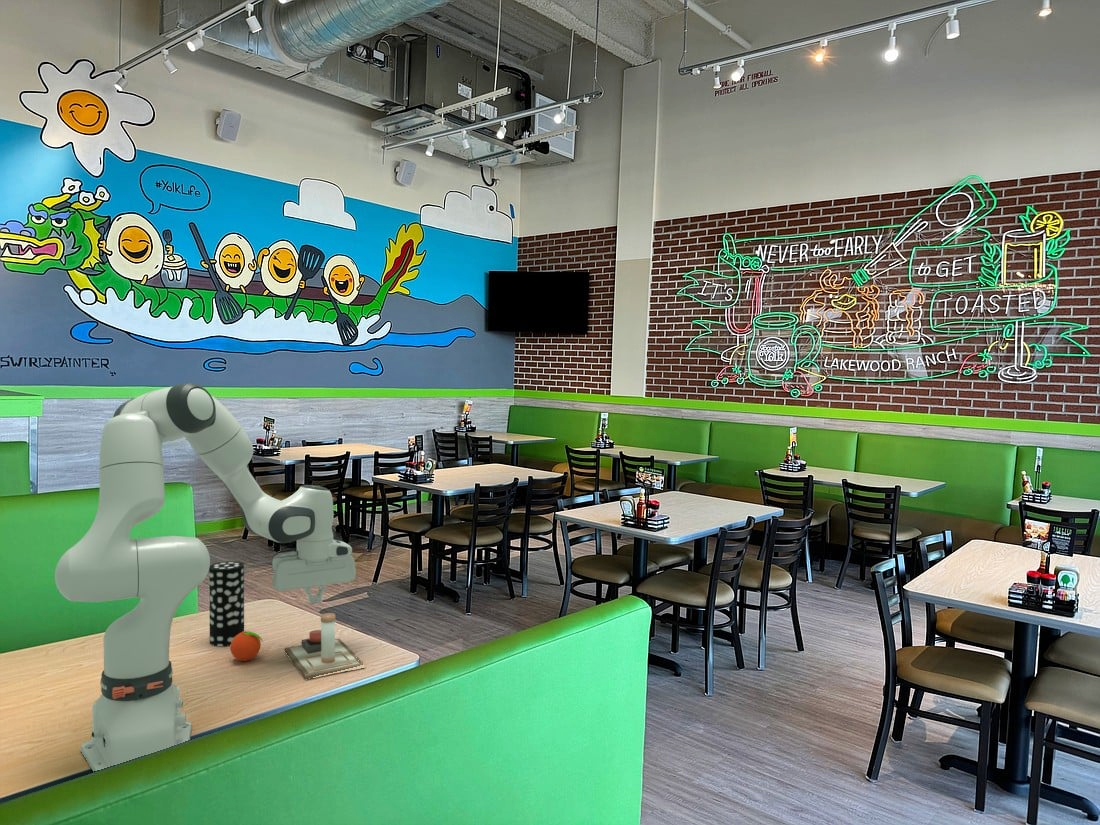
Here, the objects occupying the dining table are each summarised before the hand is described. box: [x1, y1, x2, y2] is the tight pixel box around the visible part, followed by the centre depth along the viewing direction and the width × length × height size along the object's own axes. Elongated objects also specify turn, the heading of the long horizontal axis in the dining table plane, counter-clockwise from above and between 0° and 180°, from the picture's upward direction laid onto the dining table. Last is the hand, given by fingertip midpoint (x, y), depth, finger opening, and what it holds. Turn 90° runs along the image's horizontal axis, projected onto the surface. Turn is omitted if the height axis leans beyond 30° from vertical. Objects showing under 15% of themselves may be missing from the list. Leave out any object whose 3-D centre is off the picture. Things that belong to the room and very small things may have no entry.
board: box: [283, 637, 364, 680], centre depth 188 cm, size 20×14×3 cm
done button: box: [308, 629, 321, 642], centre depth 193 cm, size 4×4×2 cm
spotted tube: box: [208, 560, 245, 647], centre depth 199 cm, size 8×8×20 cm
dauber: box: [320, 612, 336, 663], centre depth 185 cm, size 3×3×11 cm
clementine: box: [229, 630, 264, 662], centre depth 187 cm, size 8×7×7 cm
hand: (314, 602), depth 193 cm, fingers closed
